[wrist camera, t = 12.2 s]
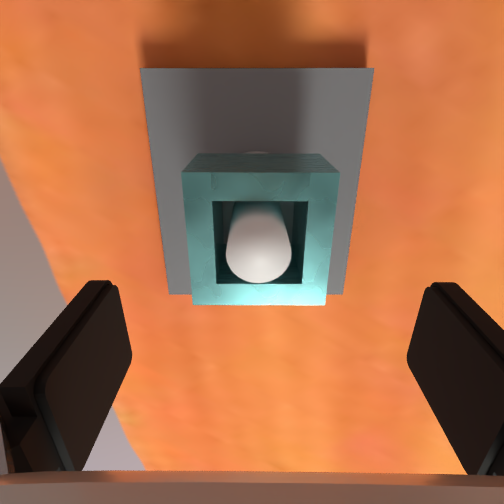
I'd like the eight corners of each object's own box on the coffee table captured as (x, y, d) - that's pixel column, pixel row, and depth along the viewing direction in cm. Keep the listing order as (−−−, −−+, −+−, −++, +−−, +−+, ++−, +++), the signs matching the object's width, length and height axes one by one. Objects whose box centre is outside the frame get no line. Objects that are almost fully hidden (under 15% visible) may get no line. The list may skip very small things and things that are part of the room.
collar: (197, 153, 19) (180, 172, 15) (319, 153, 19) (340, 172, 15) (205, 261, 22) (193, 304, 18) (310, 261, 22) (324, 305, 18)
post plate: (147, 69, 21) (62, 52, 12) (366, 69, 21) (458, 51, 12) (173, 284, 28) (133, 382, 19) (338, 284, 28) (381, 382, 19)
